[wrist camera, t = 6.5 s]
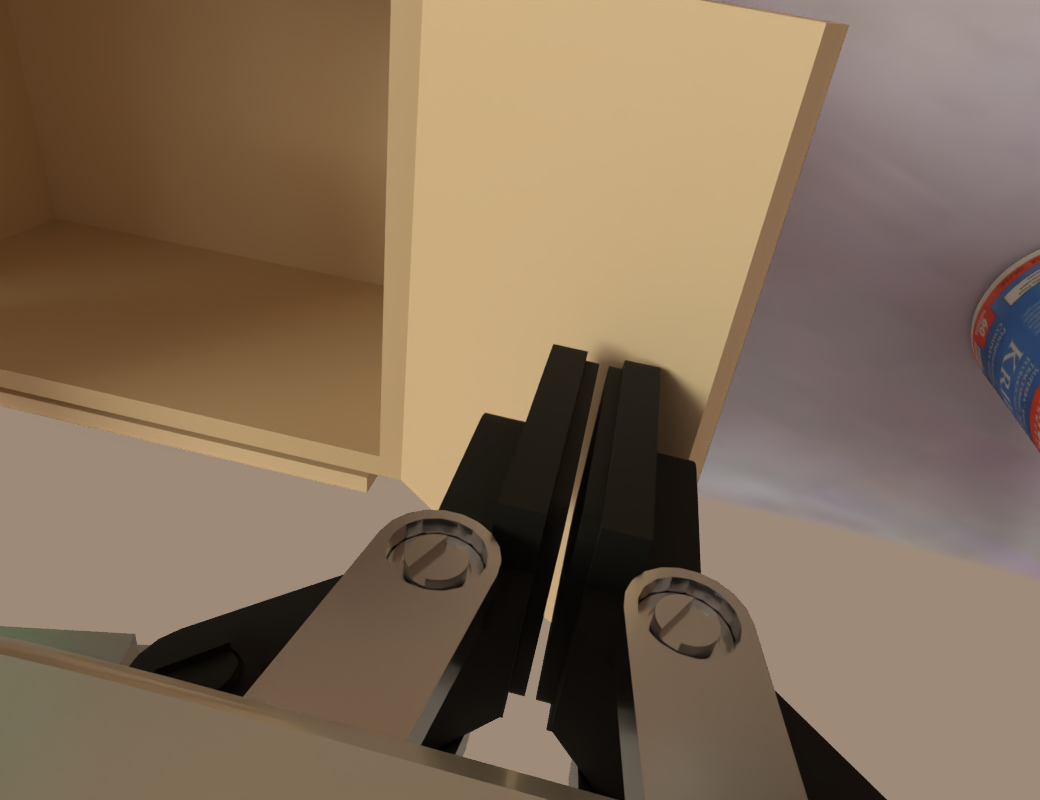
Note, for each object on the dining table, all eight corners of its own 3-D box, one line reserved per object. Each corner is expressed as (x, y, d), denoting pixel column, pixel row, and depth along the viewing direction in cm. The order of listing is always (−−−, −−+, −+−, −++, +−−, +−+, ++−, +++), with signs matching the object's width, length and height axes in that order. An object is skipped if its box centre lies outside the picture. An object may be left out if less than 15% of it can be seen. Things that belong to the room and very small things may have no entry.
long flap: (450, -46, 12) (849, 24, 8) (418, 472, 17) (634, 672, 13) (424, -49, 11) (826, 22, 7) (400, 480, 17) (617, 686, 13)
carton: (546, -103, 20) (437, -158, 11) (493, 339, 27) (404, 507, 18) (-42, -186, 21) (-513, -286, 13) (58, 248, 29) (-203, 362, 20)
